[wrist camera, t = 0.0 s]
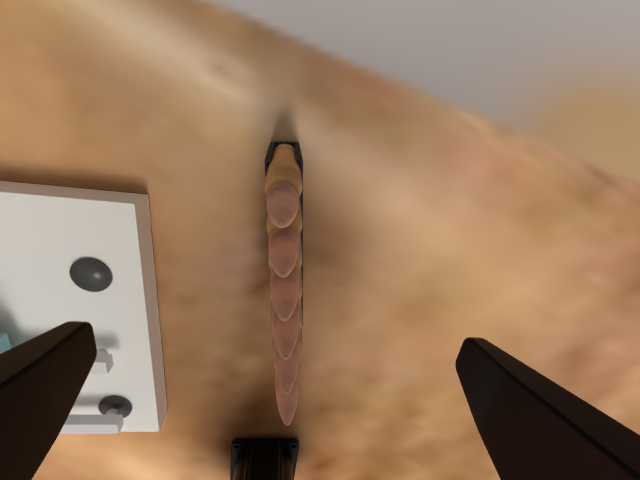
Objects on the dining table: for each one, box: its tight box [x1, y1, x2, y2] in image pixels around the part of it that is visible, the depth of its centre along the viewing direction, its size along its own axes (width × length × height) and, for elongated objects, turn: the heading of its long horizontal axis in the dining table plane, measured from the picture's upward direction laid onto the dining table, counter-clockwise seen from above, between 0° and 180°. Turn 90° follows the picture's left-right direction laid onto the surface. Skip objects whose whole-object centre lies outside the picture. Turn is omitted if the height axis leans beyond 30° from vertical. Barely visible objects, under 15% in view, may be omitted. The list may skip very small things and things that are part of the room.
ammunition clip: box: [264, 142, 303, 426], centre depth 17 cm, size 11×2×12 cm, turn 179°
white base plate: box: [0, 181, 167, 434], centre depth 20 cm, size 20×14×8 cm
